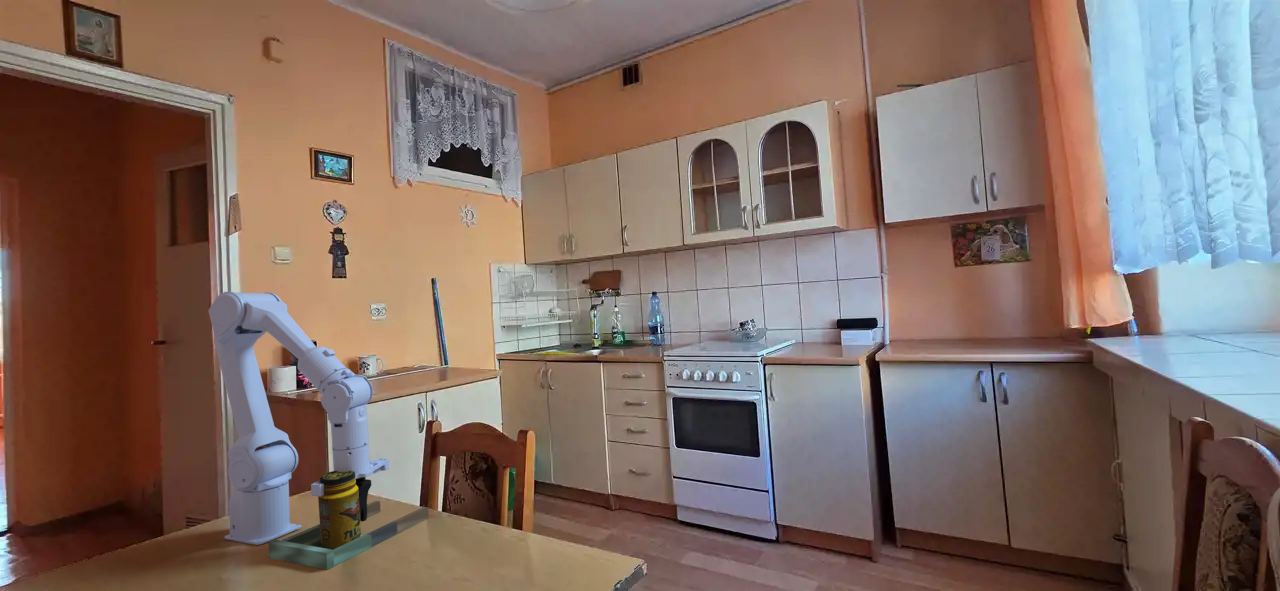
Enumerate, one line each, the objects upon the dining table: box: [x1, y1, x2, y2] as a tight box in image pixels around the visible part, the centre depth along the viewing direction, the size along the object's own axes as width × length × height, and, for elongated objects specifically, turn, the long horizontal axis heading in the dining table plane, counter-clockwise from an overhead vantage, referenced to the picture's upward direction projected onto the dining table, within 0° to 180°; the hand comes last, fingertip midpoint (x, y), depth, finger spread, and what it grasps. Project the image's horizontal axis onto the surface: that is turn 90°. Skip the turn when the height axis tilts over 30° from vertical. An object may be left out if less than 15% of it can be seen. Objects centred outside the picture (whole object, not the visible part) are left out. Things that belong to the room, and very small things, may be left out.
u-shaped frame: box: [267, 500, 430, 571], centre depth 97 cm, size 13×21×2 cm, turn 158°
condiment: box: [303, 470, 363, 550], centre depth 93 cm, size 7×8×12 cm
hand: (355, 522), depth 97 cm, fingers closed, pressing on condiment
